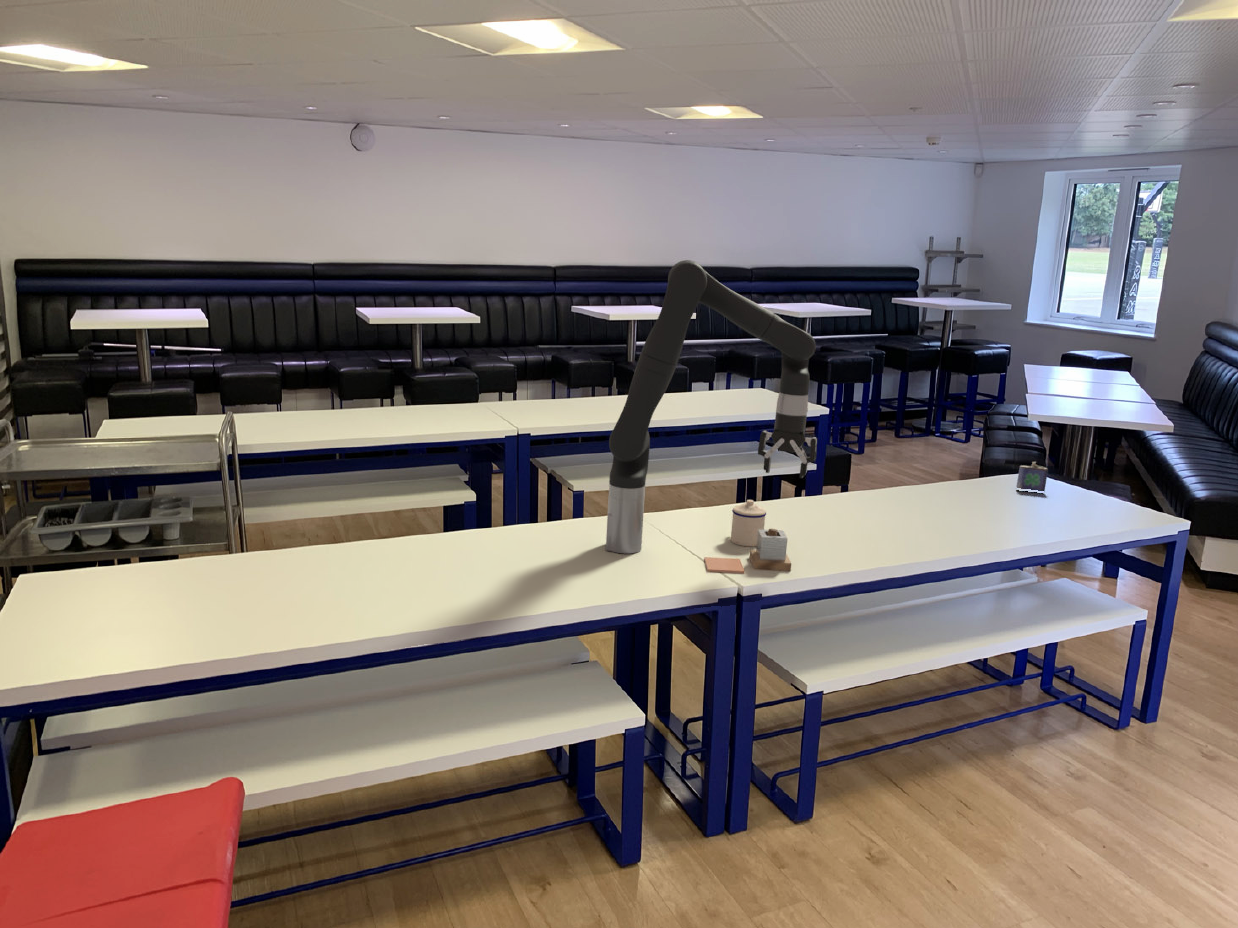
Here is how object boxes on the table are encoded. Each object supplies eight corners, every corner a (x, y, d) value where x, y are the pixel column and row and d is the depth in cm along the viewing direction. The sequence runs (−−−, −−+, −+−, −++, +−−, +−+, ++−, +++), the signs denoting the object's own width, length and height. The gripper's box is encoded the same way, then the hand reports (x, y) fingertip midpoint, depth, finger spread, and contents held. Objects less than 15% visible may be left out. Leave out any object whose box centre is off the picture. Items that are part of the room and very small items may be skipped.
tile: (707, 571, 226) (707, 569, 226) (704, 559, 235) (704, 557, 235) (744, 573, 226) (744, 571, 226) (739, 561, 235) (739, 558, 235)
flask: (1016, 491, 322) (1021, 461, 320) (1015, 489, 325) (1019, 459, 323) (1044, 494, 320) (1049, 464, 318) (1043, 492, 323) (1048, 462, 320)
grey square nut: (759, 560, 231) (761, 537, 229) (755, 551, 237) (758, 529, 236) (785, 561, 231) (787, 538, 229) (780, 552, 237) (783, 530, 236)
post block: (754, 569, 230) (757, 534, 228) (749, 557, 239) (752, 523, 237) (790, 570, 230) (794, 536, 228) (784, 558, 239) (787, 525, 237)
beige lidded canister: (769, 546, 248) (773, 504, 245) (737, 548, 245) (741, 505, 243) (750, 532, 259) (754, 492, 256) (720, 534, 257) (723, 493, 254)
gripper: (760, 410, 228) (753, 474, 232) (818, 417, 223) (810, 482, 227) (765, 405, 235) (759, 467, 239) (822, 412, 230) (815, 475, 234)
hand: (784, 474), depth 233 cm, fingers open, 8 cm apart
